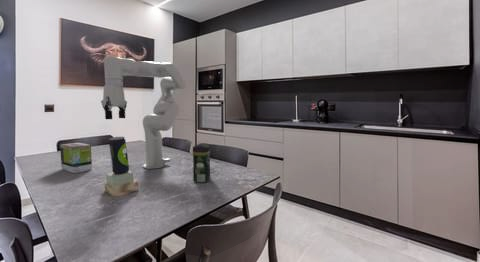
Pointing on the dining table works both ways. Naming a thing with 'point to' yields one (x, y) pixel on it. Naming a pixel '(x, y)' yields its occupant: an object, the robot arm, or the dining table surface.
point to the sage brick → (119, 178)
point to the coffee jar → (201, 163)
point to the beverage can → (118, 155)
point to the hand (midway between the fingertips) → (115, 118)
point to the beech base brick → (121, 188)
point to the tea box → (76, 157)
